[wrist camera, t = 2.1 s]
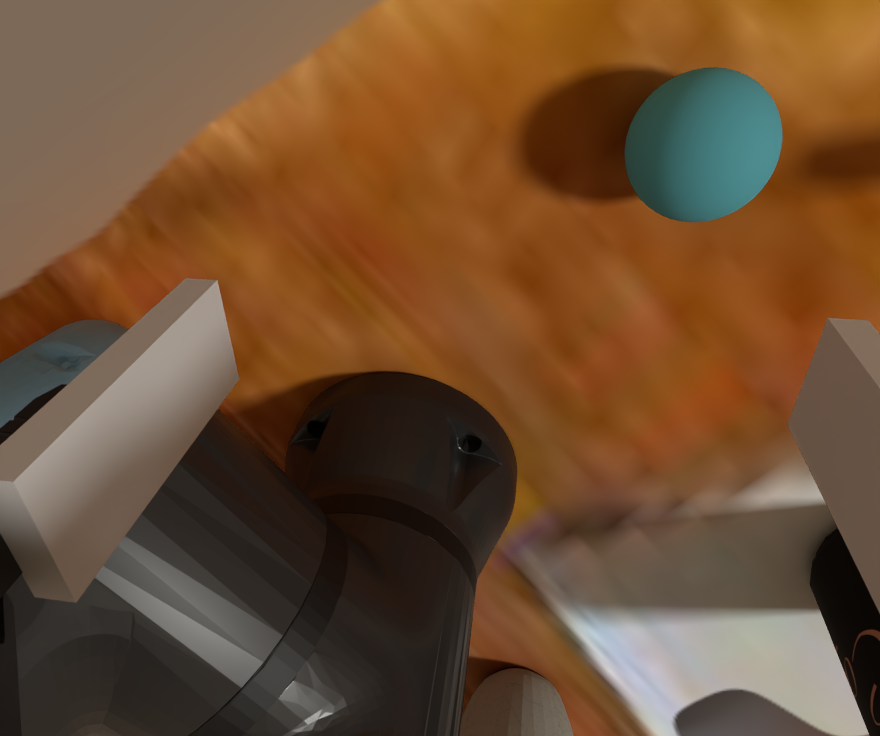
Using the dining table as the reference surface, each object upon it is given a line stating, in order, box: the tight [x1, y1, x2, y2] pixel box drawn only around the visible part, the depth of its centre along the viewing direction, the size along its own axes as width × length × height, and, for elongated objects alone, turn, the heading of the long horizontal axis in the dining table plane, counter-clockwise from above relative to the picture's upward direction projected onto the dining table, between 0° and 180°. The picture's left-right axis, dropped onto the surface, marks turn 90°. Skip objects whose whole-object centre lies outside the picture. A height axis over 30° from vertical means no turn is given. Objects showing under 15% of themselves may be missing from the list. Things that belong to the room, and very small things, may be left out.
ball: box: [624, 67, 783, 222], centre depth 26 cm, size 6×6×6 cm
